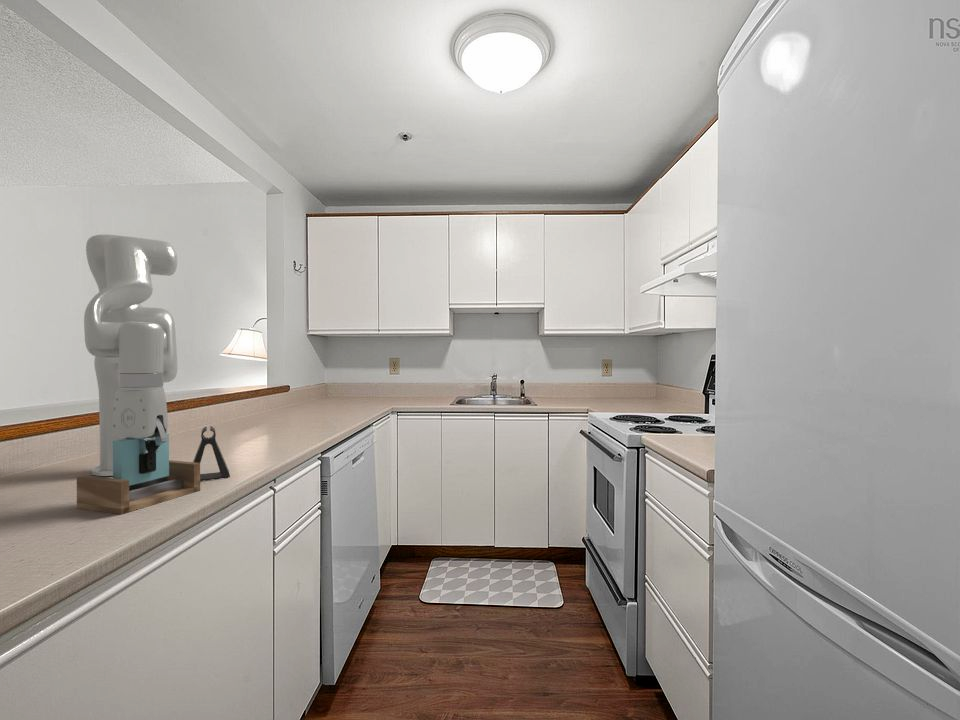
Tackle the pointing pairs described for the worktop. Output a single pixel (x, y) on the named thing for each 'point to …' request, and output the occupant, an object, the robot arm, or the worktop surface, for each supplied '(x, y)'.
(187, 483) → the cabinet track
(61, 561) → the worktop surface
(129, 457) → the door panel
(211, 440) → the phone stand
